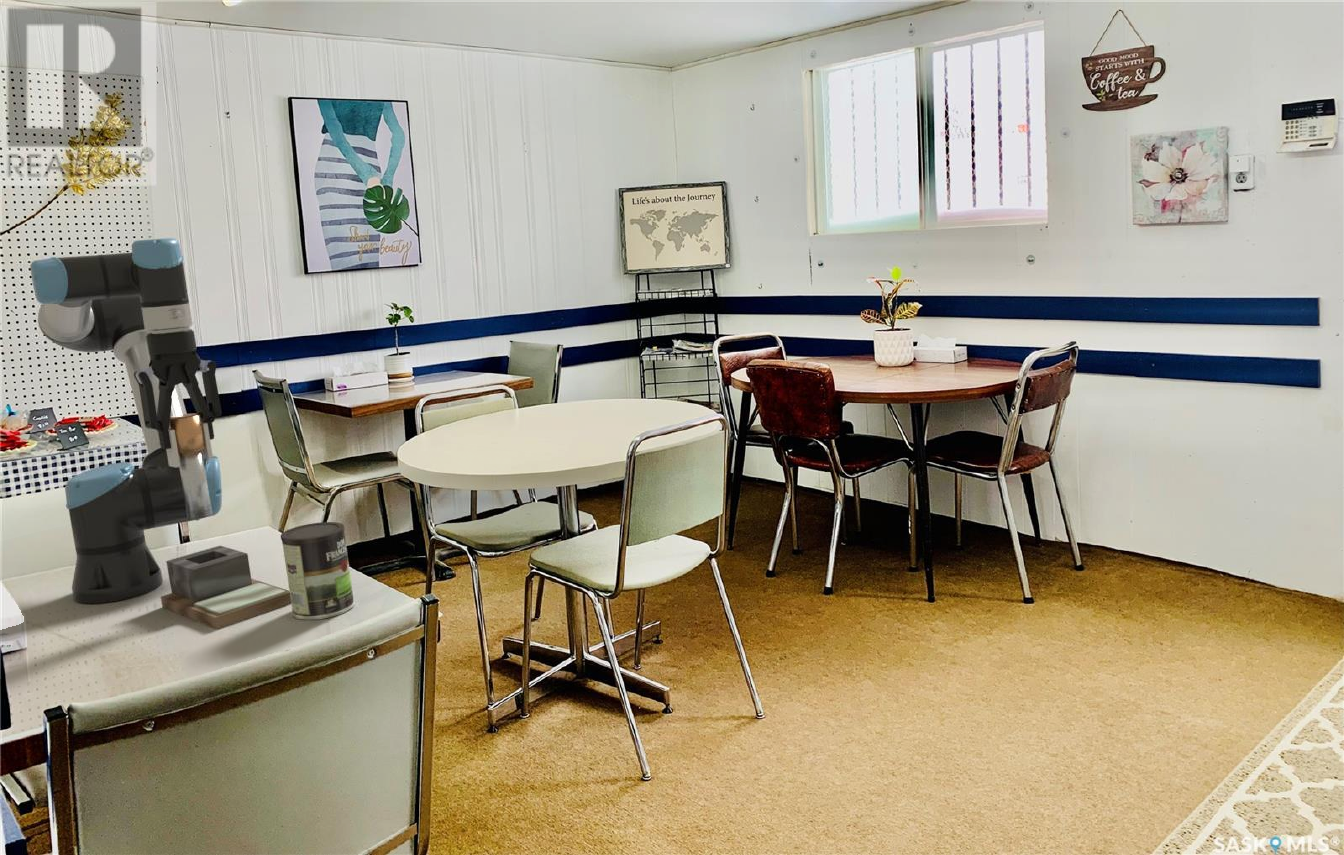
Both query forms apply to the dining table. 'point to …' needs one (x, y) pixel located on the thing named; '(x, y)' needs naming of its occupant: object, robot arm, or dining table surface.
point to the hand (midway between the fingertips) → (191, 462)
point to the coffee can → (318, 570)
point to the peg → (192, 464)
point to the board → (219, 588)
